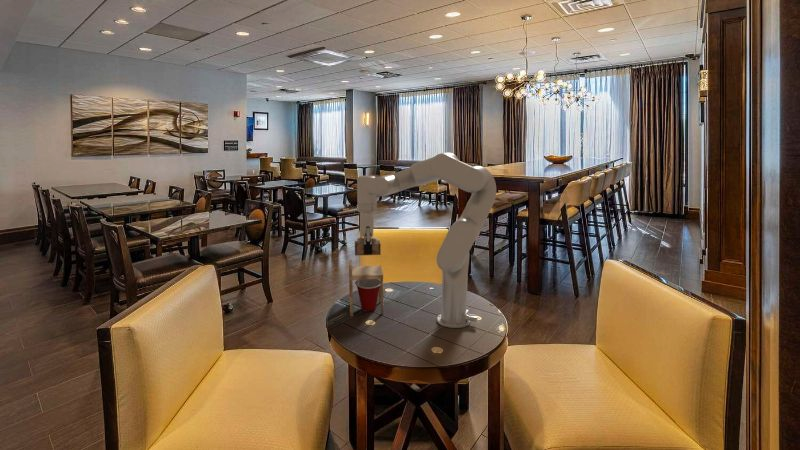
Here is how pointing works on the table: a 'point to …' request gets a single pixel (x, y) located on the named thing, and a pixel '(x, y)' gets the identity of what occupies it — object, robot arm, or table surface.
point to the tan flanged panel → (365, 273)
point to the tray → (360, 247)
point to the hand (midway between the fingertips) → (367, 251)
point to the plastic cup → (368, 293)
